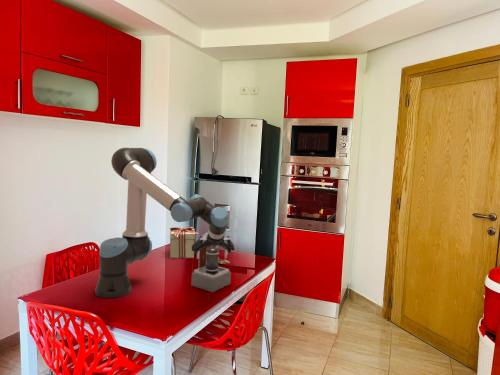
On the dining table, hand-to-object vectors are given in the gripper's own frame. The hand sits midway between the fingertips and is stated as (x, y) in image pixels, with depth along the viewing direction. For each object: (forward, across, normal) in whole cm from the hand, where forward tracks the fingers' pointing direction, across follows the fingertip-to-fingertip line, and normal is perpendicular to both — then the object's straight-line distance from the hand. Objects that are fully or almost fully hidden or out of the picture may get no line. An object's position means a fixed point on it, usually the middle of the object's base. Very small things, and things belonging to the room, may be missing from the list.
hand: (211, 255), depth 183 cm
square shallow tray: (+8, 0, -11) cm, 14 cm away
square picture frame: (+4, 0, -7) cm, 8 cm away
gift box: (+44, -12, +24) cm, 51 cm away
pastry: (+32, +8, +12) cm, 35 cm away
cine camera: (+24, +1, +4) cm, 24 cm away
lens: (+4, 0, -7) cm, 8 cm away
